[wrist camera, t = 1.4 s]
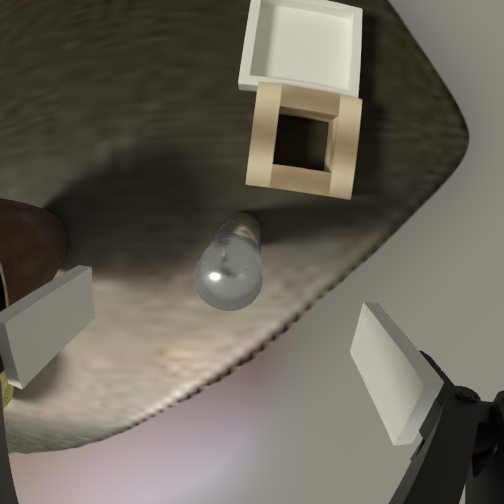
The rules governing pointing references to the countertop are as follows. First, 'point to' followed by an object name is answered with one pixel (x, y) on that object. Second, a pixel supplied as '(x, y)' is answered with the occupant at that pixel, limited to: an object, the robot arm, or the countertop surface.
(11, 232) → the plant pot
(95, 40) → the countertop surface
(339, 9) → the tray
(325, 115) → the beige square frame
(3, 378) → the lettuce
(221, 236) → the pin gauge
